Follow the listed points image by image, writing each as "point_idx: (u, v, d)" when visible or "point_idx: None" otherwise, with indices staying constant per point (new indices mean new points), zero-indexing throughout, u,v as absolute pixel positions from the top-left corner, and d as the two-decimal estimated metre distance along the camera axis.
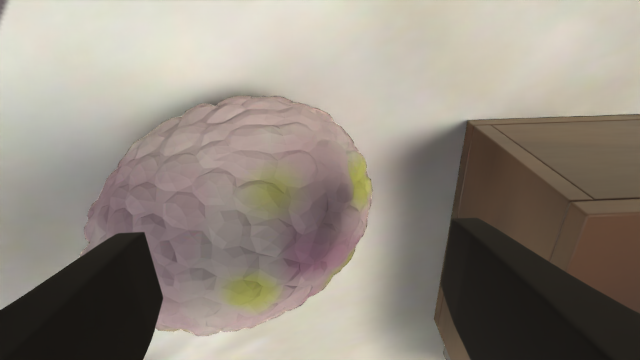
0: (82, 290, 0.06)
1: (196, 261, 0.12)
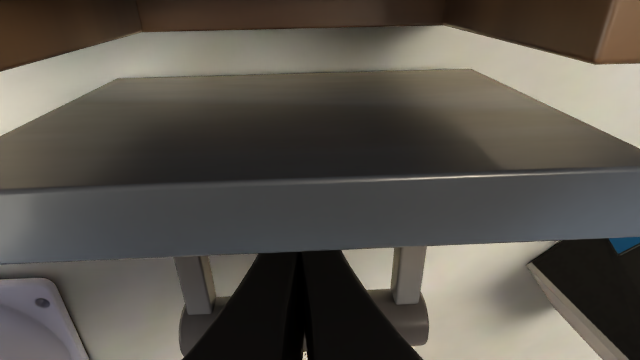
0: None
1: None
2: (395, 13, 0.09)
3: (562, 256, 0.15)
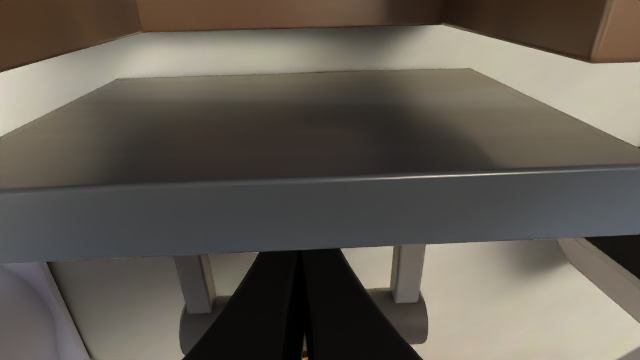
0: None
1: None
2: (394, 13, 0.09)
3: None
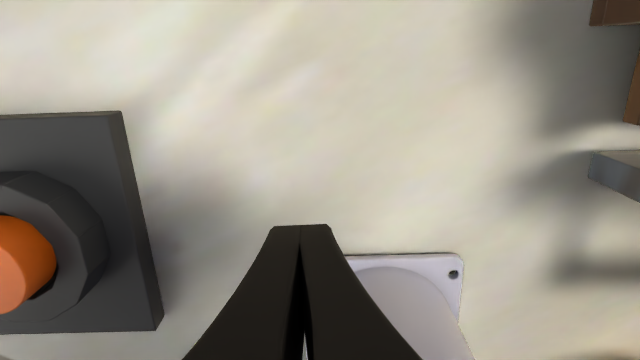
0: None
1: None
2: None
3: None
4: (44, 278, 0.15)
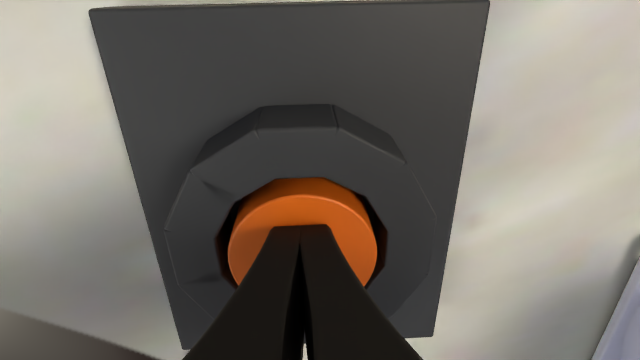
0: None
1: None
2: None
3: None
4: None
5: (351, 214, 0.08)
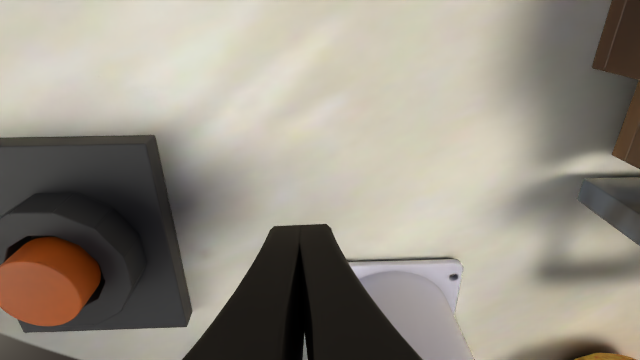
0: None
1: None
2: None
3: None
4: (92, 292, 0.17)
5: (54, 271, 0.15)
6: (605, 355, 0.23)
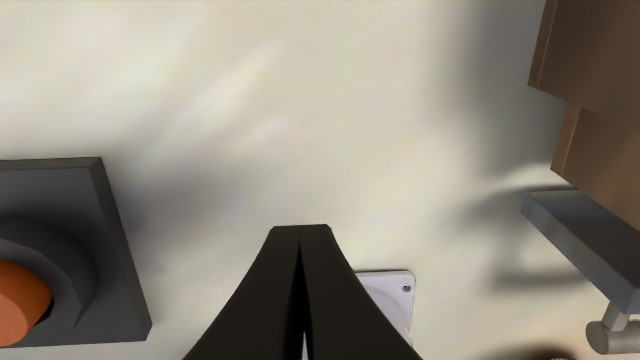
0: None
1: None
2: None
3: None
4: (42, 311, 0.17)
5: None
6: None
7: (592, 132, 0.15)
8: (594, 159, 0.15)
